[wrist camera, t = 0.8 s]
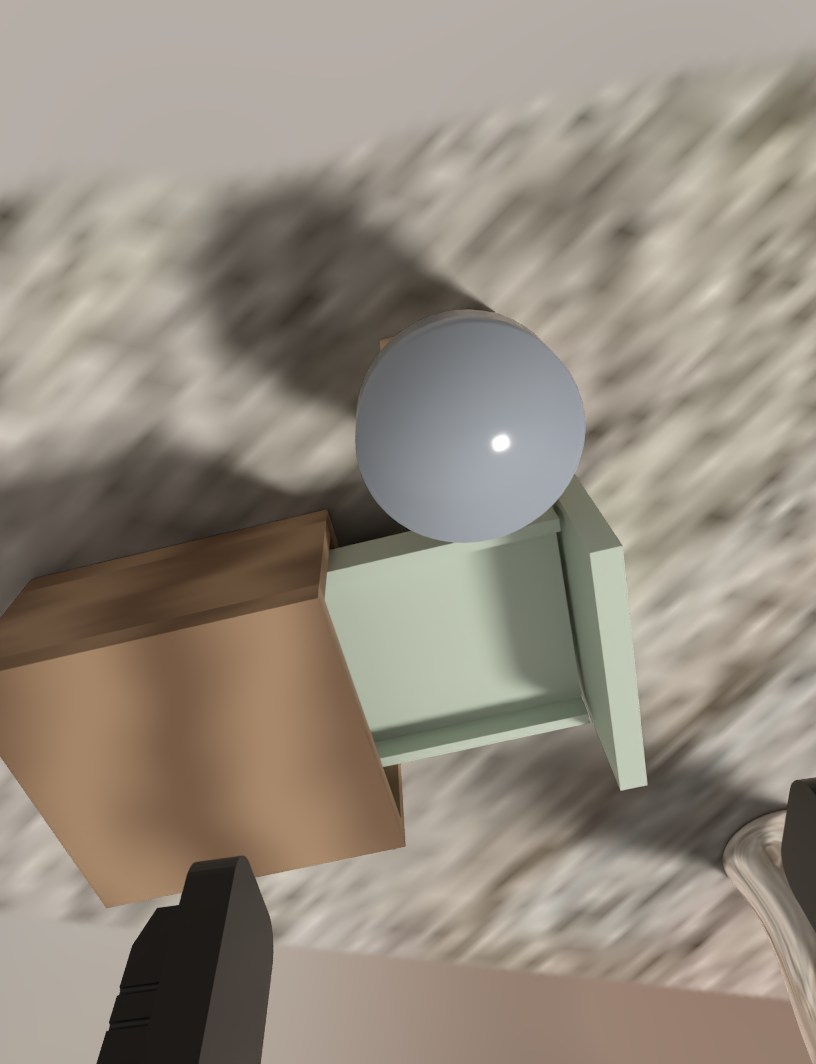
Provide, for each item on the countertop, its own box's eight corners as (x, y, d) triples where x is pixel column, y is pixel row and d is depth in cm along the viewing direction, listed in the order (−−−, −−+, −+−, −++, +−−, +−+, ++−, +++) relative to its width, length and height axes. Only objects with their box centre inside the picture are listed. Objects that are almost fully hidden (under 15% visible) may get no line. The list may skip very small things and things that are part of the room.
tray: (571, 469, 26) (622, 545, 21) (600, 680, 31) (647, 785, 26) (255, 543, 27) (230, 635, 22) (331, 739, 32) (324, 851, 27)
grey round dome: (551, 284, 20) (570, 296, 18) (578, 487, 23) (597, 515, 21) (330, 340, 20) (327, 357, 18) (385, 533, 23) (387, 563, 21)
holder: (327, 509, 27) (317, 598, 22) (398, 730, 32) (405, 846, 27) (31, 579, 28) (-51, 682, 22) (148, 784, 33) (106, 908, 28)
